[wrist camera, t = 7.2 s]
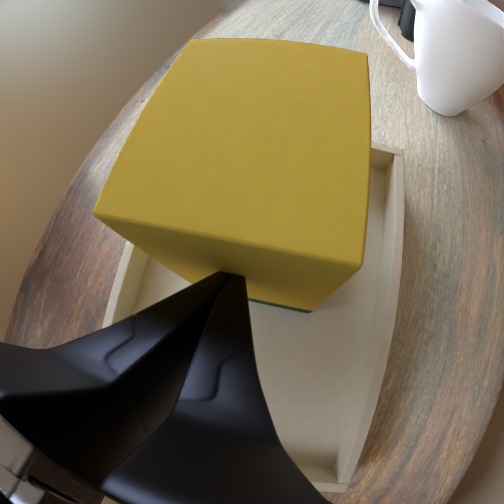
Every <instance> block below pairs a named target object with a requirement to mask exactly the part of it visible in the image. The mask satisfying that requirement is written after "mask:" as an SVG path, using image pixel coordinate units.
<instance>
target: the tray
mask: <svg viewBox="0 0 504 504" xmlns="http://www.w3.org/2000/svg"><path fill="white" fill-rule="evenodd" d="M404 217H405V181H404V157H403V149H400V148H396V147H393V146H389V145H385V144H381V143H378V142H374V141H371V173H370V194H369V209H368V222H367V232H366V242H365V251H364V260H363V265H362V267H361V268H360V269H359V270H358V271H357V272H356V273H355V274H354V275H353V276H351V277H350V278H349V279H348V280H347V281H346V282H345V283H344V284H343V285H342V286H340V287H339V288H338V289H337V290H336V291H335V292H334V293H333V294H331V295H330V296H329V297H328V298H327V299H326V300H325V301H323V302H322V303H321V304H320V305H319V306H318V307H316V308H315V309H314V310H313V311H312V312H310V313H303V312H298V311H293V310H288V309H283V308H279V307H274V306H269V305H265V304H260V303H256V302H251V301H248V302H249V310H250V318H251V327H252V335H253V343H254V350H255V358H256V364H257V370H258V375H259V379H260V383H261V386H262V390H263V393H264V396H265V399H266V402H267V406H268V409H269V412H270V415H271V418H272V421H273V424H274V427H275V429H276V432H277V435H278V437H279V439H280V442H281V444H282V446H283V448H284V449H285V451H286V452H287V454H288V455H289V456H290V457H291V459H292V460H293V461H294V462H295V464H296V465H297V466H298V467H299V469H300V470H301V471H302V472H303V474H304V475H305V476H306V477H307V479H308V480H309V481H310V482H311V483H312V484H313V486H314V487H315V488H316V489H317V490H318V491H325V492H342V493H345V492H346V490H347V488H348V485H349V483H350V481H351V478H352V476H353V474H354V471H355V469H356V466H357V463H358V461H359V458H360V455H361V453H362V450H363V447H364V444H365V441H366V438H367V435H368V432H369V429H370V426H371V423H372V420H373V416H374V413H375V409H376V406H377V402H378V399H379V395H380V391H381V387H382V383H383V379H384V375H385V371H386V366H387V362H388V357H389V352H390V347H391V342H392V336H393V330H394V324H395V318H396V312H397V304H398V297H399V289H400V280H401V269H402V257H403V242H404ZM190 285H192V284H191V283H190V282H188V281H187V280H185V279H184V278H182V277H181V276H179V275H178V274H176V273H174V272H173V271H171V270H170V269H168V268H167V267H166V266H164V265H163V264H161V263H160V262H158V261H157V260H155V259H154V258H152V257H151V256H149V255H148V254H146V253H145V252H144V251H142V250H141V249H139V248H138V247H136V246H135V245H134V244H132V243H131V242H129V241H128V240H127V243H126V246H125V249H124V252H123V255H122V258H121V261H120V264H119V268H118V271H117V274H116V278H115V281H114V284H113V288H112V292H111V295H110V299H109V303H108V306H107V310H106V314H105V318H104V323H103V327H102V329H103V328H105V327H108V326H110V325H112V324H114V323H116V322H118V321H120V320H123V319H125V318H127V317H129V316H131V315H133V314H134V315H135V313H137V312H139V311H141V310H143V309H145V308H147V307H149V306H150V305H152V304H154V303H156V302H158V301H160V300H162V299H164V298H166V297H168V296H170V295H172V294H174V293H176V292H178V291H180V290H182V289H184V288H186V287H188V286H190Z"/></svg>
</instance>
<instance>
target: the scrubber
mask: <svg viewBox="0 0 504 504" xmlns="http://www.w3.org/2000/svg"><path fill="white" fill-rule="evenodd" d="M370 173H371V101H370V81H369V67H368V56H367V54H365V53H362V52H357V51H352V50H348V49H343V48H337V47H332V46H326V45H319V44H312V43H304V42H296V41H286V40H273V39H254V38H213V39H194V40H190V41H189V42H188V44H187V45H186V46H185V48H184V49H183V50H182V52H181V53H180V54H179V56H178V57H177V59H176V60H175V61H174V63H173V64H172V66H171V67H170V68H169V70H168V71H167V73H166V74H165V76H164V77H163V79H162V80H161V82H160V83H159V85H158V86H157V88H156V90H155V91H154V93H153V94H152V96H151V97H150V99H149V101H148V102H147V104H146V106H145V107H144V109H143V111H142V112H141V114H140V116H139V118H138V119H137V121H136V123H135V125H134V126H133V128H132V130H131V132H130V134H129V136H128V137H127V139H126V141H125V143H124V145H123V147H122V149H121V151H120V153H119V155H118V157H117V159H116V161H115V163H114V165H113V167H112V169H111V171H110V174H109V176H108V178H107V180H106V182H105V185H104V187H103V189H102V192H101V194H100V196H99V199H98V201H97V203H96V206H95V208H94V211H93V215H94V216H95V217H96V218H98V219H99V220H100V221H102V222H103V223H104V224H106V225H107V226H108V227H110V228H111V229H113V230H114V231H115V232H117V233H118V234H119V235H121V236H122V237H124V238H125V239H126V240H128V241H129V242H131V243H132V244H134V245H135V246H136V247H138V248H139V249H141V250H142V251H144V252H145V253H146V254H148V255H149V256H151V257H152V258H154V259H155V260H157V261H158V262H160V263H161V264H163V265H164V266H166V267H167V268H168V269H170V270H171V271H173V272H174V273H176V274H178V275H179V276H181V277H182V278H184V279H185V280H187V281H188V282H190V283H191V284H194V283H196V282H198V281H200V280H202V279H204V278H206V277H208V276H210V275H212V274H214V273H216V272H218V271H223V272H227V273H231V274H236V275H241V276H245V278H246V285H247V293H248V301H251V302H256V303H260V304H265V305H269V306H274V307H279V308H283V309H288V310H293V311H298V312H303V313H310V312H312V311H313V310H314V309H315V308H316V307H318V306H319V305H320V304H321V303H322V302H323V301H325V300H326V299H327V298H328V297H329V296H330V295H331V294H333V293H334V292H335V291H336V290H337V289H338V288H339V287H340V286H342V285H343V284H344V283H345V282H346V281H347V280H348V279H349V278H350V277H351V276H353V275H354V274H355V273H356V272H357V271H358V270H359V269H360V268H361V267H362V265H363V260H364V251H365V242H366V232H367V222H368V209H369V194H370Z"/></svg>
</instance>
